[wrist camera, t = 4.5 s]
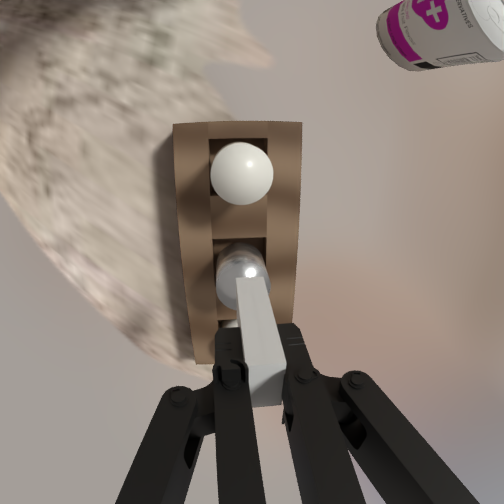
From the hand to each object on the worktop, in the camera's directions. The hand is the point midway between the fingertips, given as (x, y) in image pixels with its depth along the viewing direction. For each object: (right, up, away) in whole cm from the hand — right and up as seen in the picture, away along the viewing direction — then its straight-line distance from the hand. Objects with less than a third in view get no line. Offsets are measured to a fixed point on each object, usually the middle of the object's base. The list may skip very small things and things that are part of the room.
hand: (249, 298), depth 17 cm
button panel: (-1, +3, +15) cm, 16 cm away
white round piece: (-1, +10, +8) cm, 12 cm away
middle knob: (-1, +1, +11) cm, 11 cm away
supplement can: (+17, +27, +7) cm, 33 cm away
